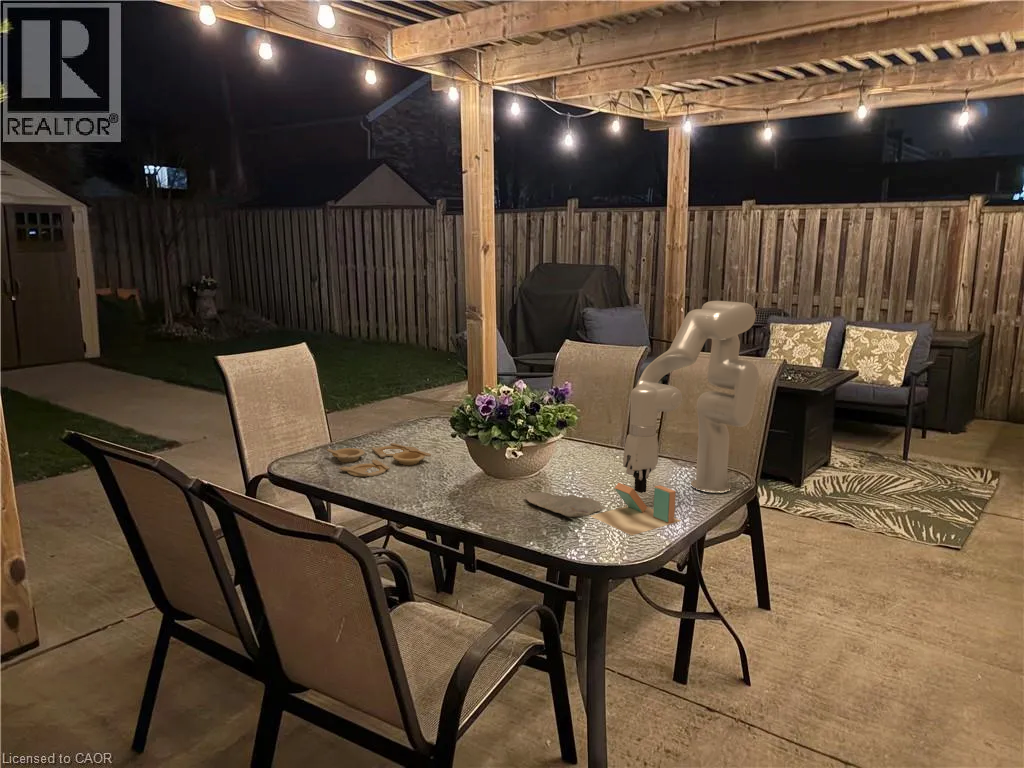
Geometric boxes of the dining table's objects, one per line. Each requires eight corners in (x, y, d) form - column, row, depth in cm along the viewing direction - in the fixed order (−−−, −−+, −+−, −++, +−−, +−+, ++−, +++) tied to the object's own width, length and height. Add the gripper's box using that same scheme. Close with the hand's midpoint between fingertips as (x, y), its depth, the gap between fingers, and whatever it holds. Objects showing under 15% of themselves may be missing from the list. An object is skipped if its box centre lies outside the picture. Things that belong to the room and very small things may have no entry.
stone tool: (613, 509, 215) (541, 491, 228) (614, 498, 214) (541, 481, 227) (584, 527, 199) (508, 507, 211) (585, 515, 198) (509, 496, 211)
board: (638, 506, 214) (638, 503, 214) (681, 524, 200) (681, 520, 200) (589, 519, 203) (589, 515, 203) (631, 538, 190) (631, 535, 189)
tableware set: (354, 482, 236) (353, 470, 236) (316, 461, 259) (316, 450, 258) (442, 463, 258) (442, 452, 257) (401, 445, 280) (401, 435, 280)
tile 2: (658, 515, 204) (659, 485, 202) (673, 522, 199) (675, 491, 197) (652, 517, 203) (653, 486, 201) (668, 523, 198) (669, 492, 196)
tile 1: (632, 501, 211) (618, 482, 207) (647, 507, 207) (633, 488, 202) (628, 507, 211) (614, 488, 206) (642, 513, 206) (628, 494, 201)
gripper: (652, 424, 212) (649, 483, 215) (614, 430, 204) (612, 492, 207) (670, 429, 206) (667, 490, 209) (632, 436, 198) (630, 499, 201)
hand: (640, 491), depth 208 cm, fingers closed
